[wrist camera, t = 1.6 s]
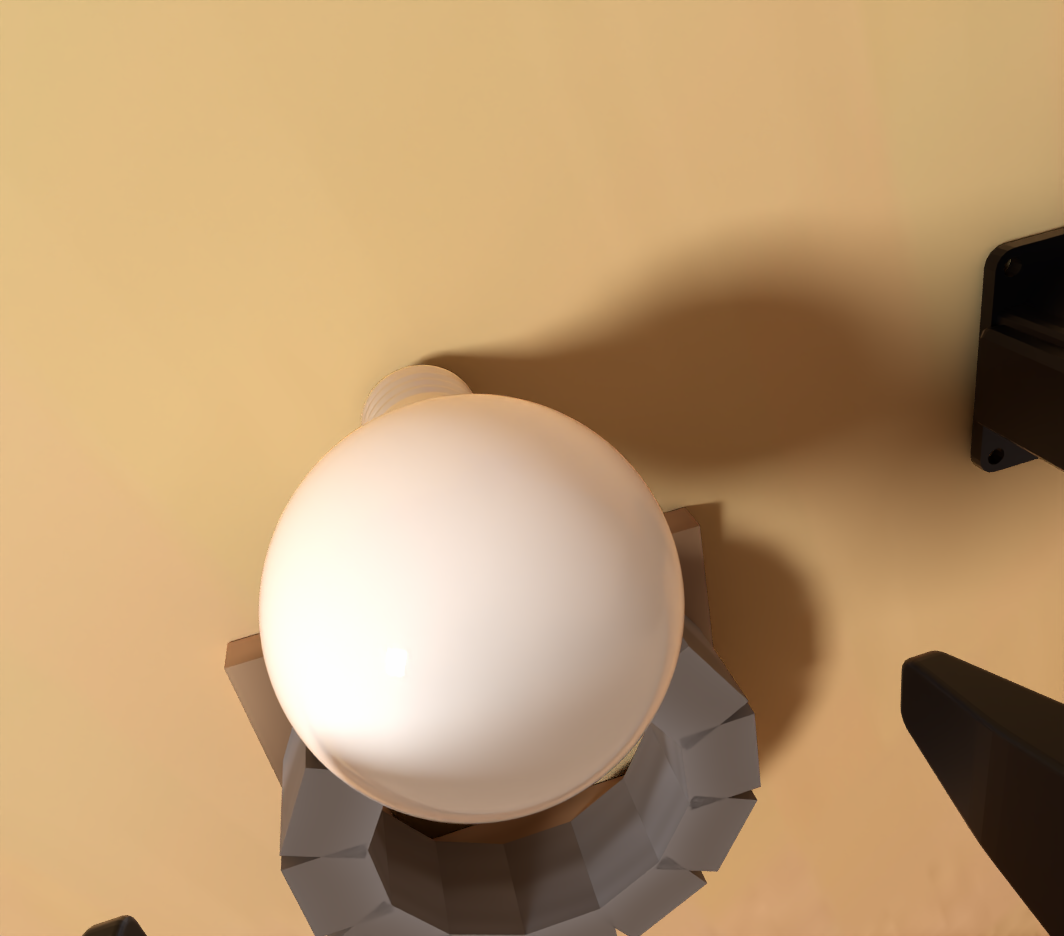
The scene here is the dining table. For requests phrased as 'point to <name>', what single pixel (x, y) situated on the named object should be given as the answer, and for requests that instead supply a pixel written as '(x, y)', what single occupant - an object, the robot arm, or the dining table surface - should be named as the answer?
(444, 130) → the dining table surface
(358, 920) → the grey stone fire pit
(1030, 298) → the robot arm
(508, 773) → the lightbulb
